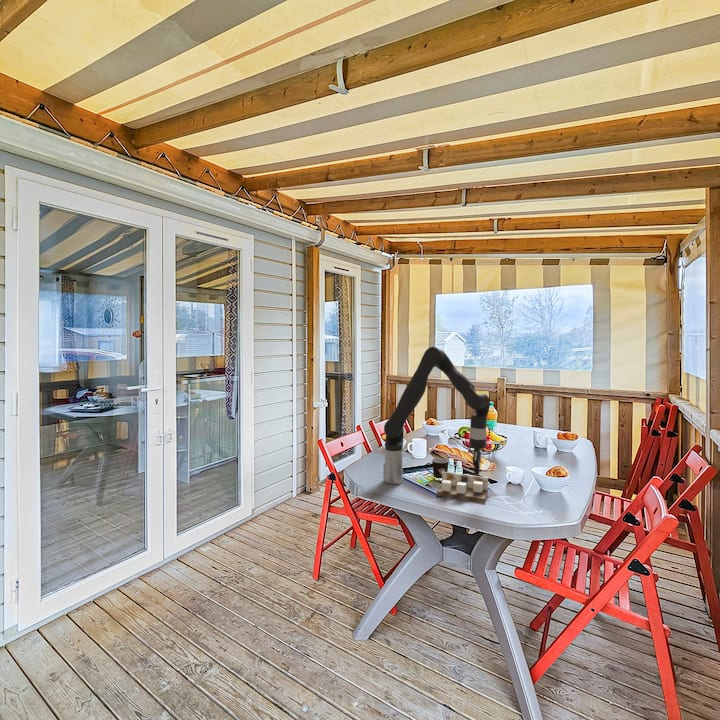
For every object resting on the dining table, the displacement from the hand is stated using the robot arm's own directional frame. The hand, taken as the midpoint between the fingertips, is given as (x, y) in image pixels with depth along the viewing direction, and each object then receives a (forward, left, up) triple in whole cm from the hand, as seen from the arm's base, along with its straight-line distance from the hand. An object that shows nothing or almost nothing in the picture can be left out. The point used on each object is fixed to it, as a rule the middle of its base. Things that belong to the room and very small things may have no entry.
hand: (476, 473), depth 192 cm
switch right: (0, +5, -10) cm, 11 cm away
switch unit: (-7, +3, -12) cm, 14 cm away
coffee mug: (-23, +20, -12) cm, 33 cm away
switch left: (-14, 0, -10) cm, 17 cm away
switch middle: (-7, 0, -10) cm, 12 cm away
